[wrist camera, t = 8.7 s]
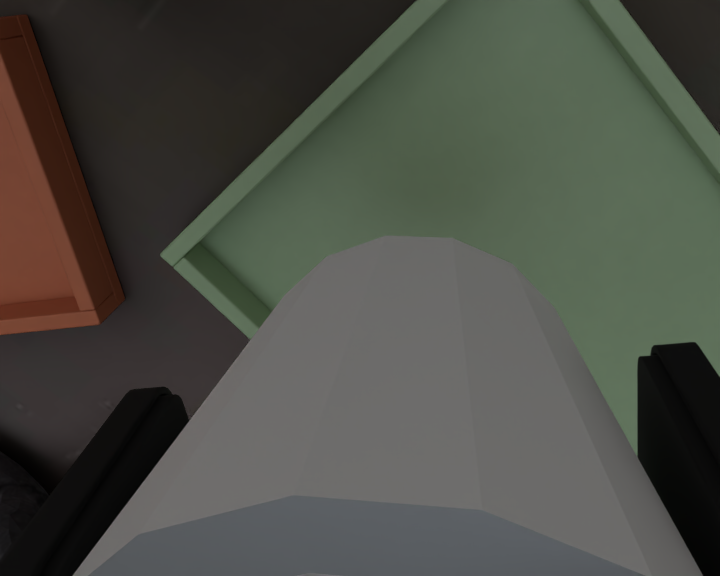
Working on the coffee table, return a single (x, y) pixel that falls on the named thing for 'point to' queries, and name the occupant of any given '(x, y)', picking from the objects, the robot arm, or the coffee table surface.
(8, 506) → the teapot
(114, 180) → the coffee table surface
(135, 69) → the coffee table surface
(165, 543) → the grey tapered cup
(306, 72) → the coffee table surface
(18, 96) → the terracotta tray
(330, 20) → the coffee table surface
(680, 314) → the sage tray
